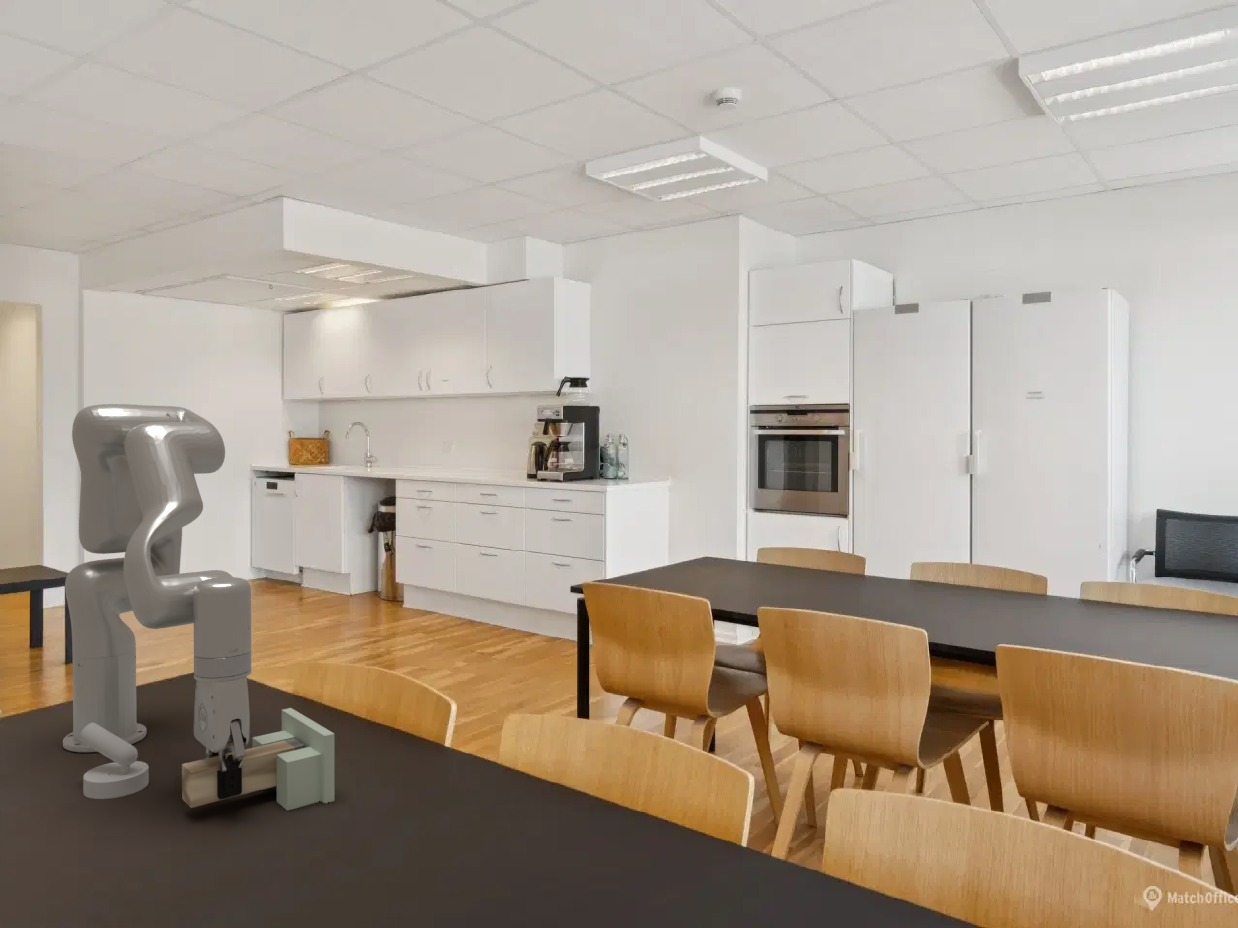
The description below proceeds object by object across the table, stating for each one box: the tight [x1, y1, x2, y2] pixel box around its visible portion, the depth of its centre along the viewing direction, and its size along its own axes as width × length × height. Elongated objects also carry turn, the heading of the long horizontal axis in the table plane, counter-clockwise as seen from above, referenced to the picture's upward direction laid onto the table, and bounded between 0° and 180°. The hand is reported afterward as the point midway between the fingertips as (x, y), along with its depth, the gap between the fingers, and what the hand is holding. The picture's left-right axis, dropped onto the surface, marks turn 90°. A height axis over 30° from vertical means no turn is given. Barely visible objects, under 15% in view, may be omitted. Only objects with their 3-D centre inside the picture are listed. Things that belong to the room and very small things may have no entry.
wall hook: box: [79, 723, 150, 800], centre depth 133 cm, size 9×10×10 cm
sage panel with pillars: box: [251, 707, 336, 812], centre depth 132 cm, size 16×6×10 cm, turn 43°
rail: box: [181, 738, 304, 809], centre depth 128 cm, size 4×16×5 cm, turn 133°
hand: (223, 789), depth 126 cm, fingers closed on rail, 4 cm apart
